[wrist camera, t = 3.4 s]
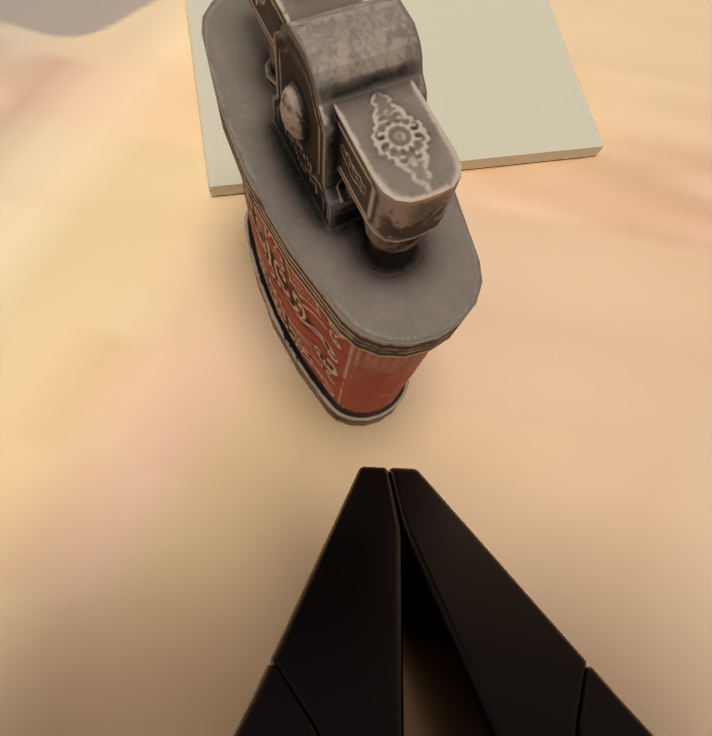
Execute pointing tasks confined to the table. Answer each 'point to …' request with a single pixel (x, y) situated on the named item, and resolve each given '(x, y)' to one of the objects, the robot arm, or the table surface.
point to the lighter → (343, 191)
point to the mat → (461, 86)
